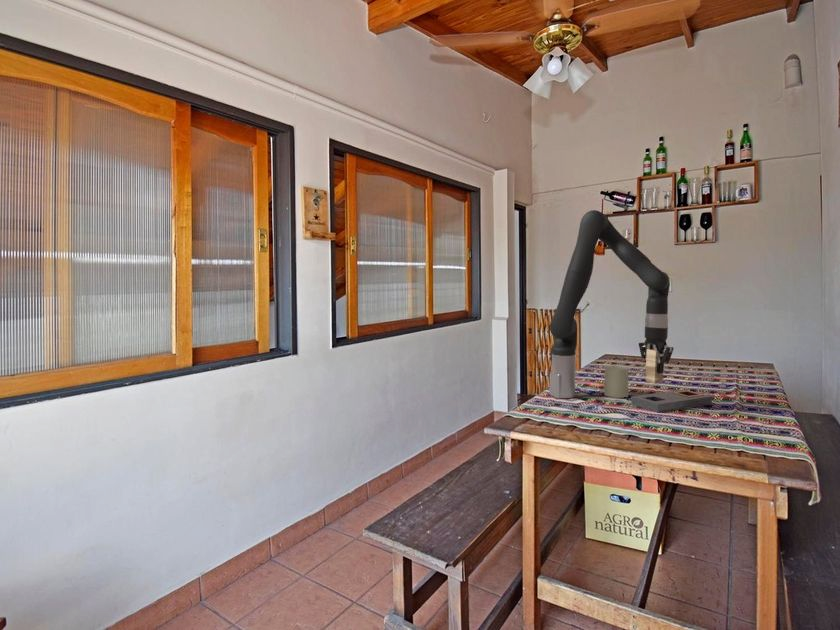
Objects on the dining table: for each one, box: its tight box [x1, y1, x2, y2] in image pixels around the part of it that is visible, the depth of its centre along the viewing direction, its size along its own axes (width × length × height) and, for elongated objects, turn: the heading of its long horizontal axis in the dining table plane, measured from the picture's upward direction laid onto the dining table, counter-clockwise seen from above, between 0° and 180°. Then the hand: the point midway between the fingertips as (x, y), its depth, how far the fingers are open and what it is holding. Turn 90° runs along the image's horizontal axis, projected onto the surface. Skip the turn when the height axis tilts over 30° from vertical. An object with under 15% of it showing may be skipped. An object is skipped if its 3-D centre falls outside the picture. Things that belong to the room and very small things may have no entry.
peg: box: [645, 349, 664, 384], centre depth 170 cm, size 4×4×12 cm
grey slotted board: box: [630, 388, 713, 414], centre depth 174 cm, size 27×12×3 cm, turn 110°
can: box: [603, 365, 630, 399], centre depth 188 cm, size 9×9×12 cm
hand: (654, 371), depth 170 cm, fingers closed on peg, 4 cm apart
